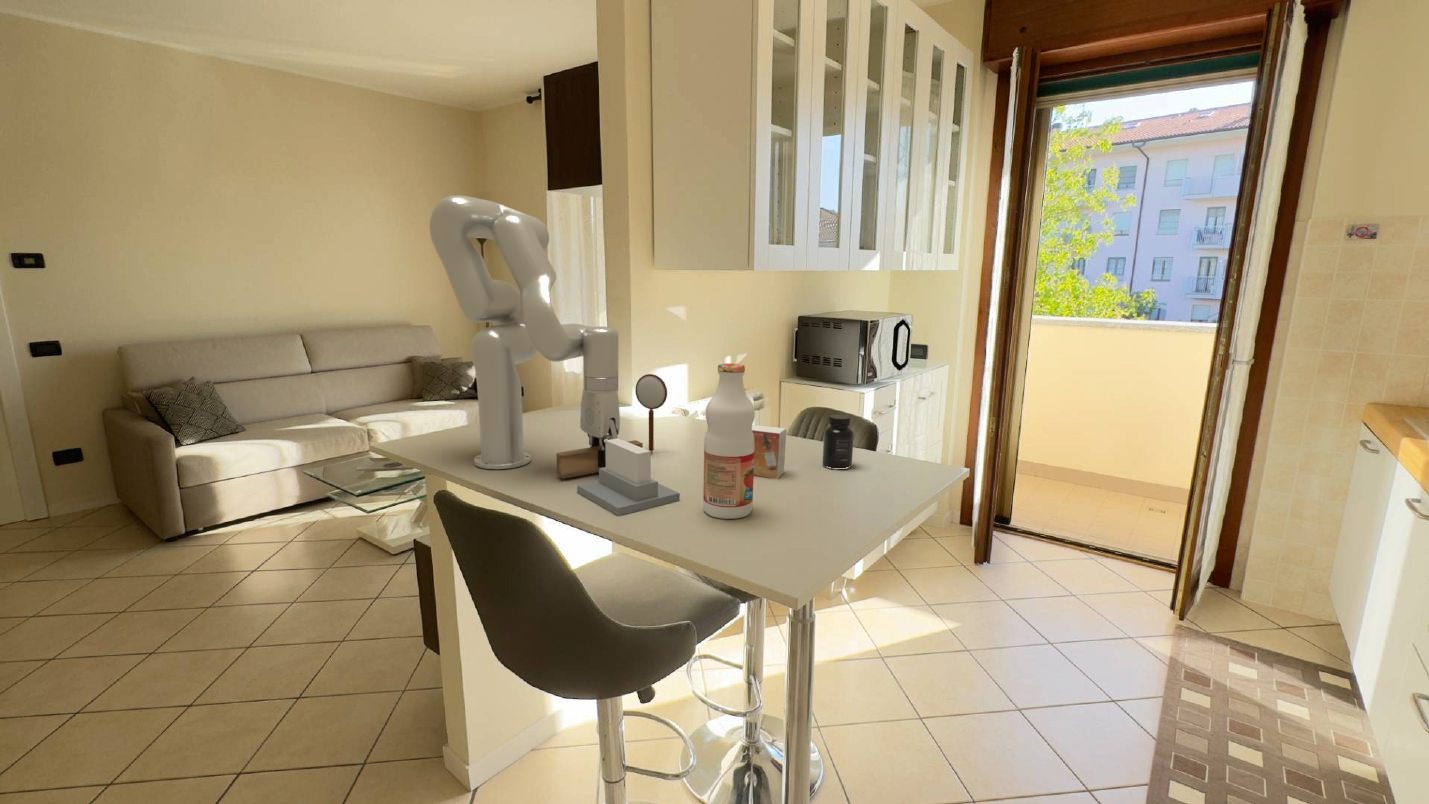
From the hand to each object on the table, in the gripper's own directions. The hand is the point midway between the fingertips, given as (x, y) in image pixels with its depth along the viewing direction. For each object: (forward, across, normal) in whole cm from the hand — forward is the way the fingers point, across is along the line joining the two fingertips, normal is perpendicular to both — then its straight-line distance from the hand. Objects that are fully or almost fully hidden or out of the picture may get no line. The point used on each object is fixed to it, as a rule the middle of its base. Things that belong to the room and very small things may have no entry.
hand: (600, 463), depth 144 cm
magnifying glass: (+2, -6, +17) cm, 18 cm away
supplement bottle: (+1, +28, +47) cm, 55 cm away
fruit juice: (+2, +35, +7) cm, 36 cm away
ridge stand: (+2, +17, -4) cm, 18 cm away
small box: (+2, +22, +29) cm, 37 cm away
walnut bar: (+1, 0, 0) cm, 1 cm away
